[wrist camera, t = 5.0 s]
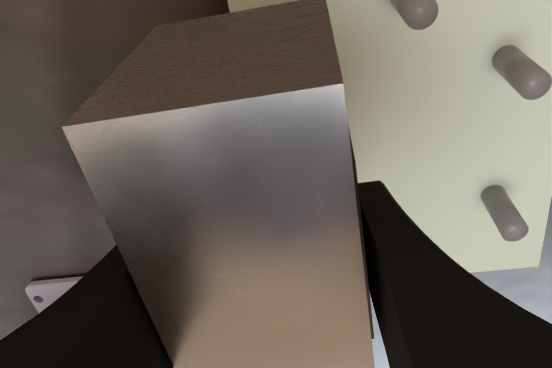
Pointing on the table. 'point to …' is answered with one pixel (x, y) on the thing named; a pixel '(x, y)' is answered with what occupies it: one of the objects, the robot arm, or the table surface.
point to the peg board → (452, 117)
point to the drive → (235, 189)
